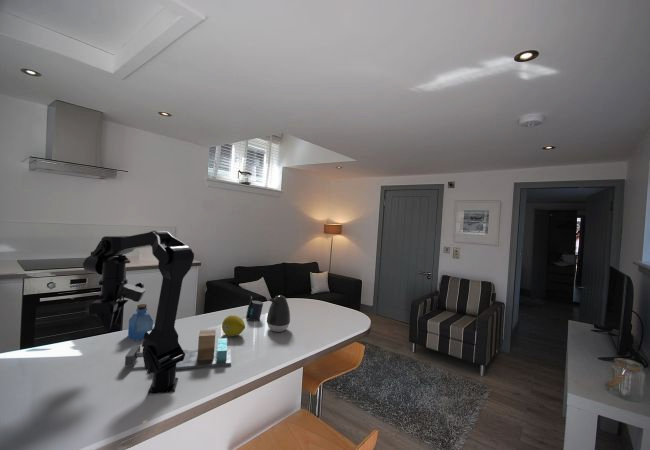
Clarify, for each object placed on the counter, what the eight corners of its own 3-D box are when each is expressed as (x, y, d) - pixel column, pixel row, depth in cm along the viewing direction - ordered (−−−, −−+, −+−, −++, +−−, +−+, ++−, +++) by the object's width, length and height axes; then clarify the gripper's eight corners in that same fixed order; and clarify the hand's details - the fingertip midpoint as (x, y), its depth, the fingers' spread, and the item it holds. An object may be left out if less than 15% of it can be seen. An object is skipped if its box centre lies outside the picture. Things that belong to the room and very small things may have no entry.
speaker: (242, 320, 139) (246, 298, 139) (246, 316, 144) (249, 295, 145) (258, 323, 138) (262, 301, 138) (261, 319, 144) (265, 298, 144)
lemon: (216, 334, 121) (218, 314, 121) (233, 329, 127) (234, 311, 127) (231, 342, 114) (233, 321, 114) (248, 337, 120) (250, 317, 120)
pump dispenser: (261, 328, 131) (263, 294, 131) (281, 324, 138) (283, 291, 138) (273, 336, 123) (276, 299, 123) (294, 331, 130) (296, 296, 130)
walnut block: (213, 359, 98) (215, 335, 98) (197, 360, 97) (198, 335, 97) (214, 352, 103) (215, 329, 103) (198, 353, 102) (200, 330, 101)
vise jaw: (123, 368, 88) (124, 357, 88) (133, 353, 98) (134, 343, 98) (164, 365, 92) (165, 354, 92) (170, 351, 101) (171, 341, 101)
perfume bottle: (145, 332, 118) (147, 302, 118) (152, 336, 114) (154, 305, 114) (128, 336, 114) (129, 304, 113) (133, 341, 110) (135, 308, 109)
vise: (147, 372, 89) (148, 357, 89) (156, 354, 101) (157, 340, 101) (230, 365, 97) (231, 351, 97) (230, 349, 108) (231, 336, 108)
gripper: (134, 283, 84) (131, 338, 85) (150, 271, 102) (148, 316, 102) (87, 283, 81) (84, 340, 81) (112, 271, 99) (110, 317, 99)
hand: (110, 327), depth 91 cm, fingers open, 4 cm apart
